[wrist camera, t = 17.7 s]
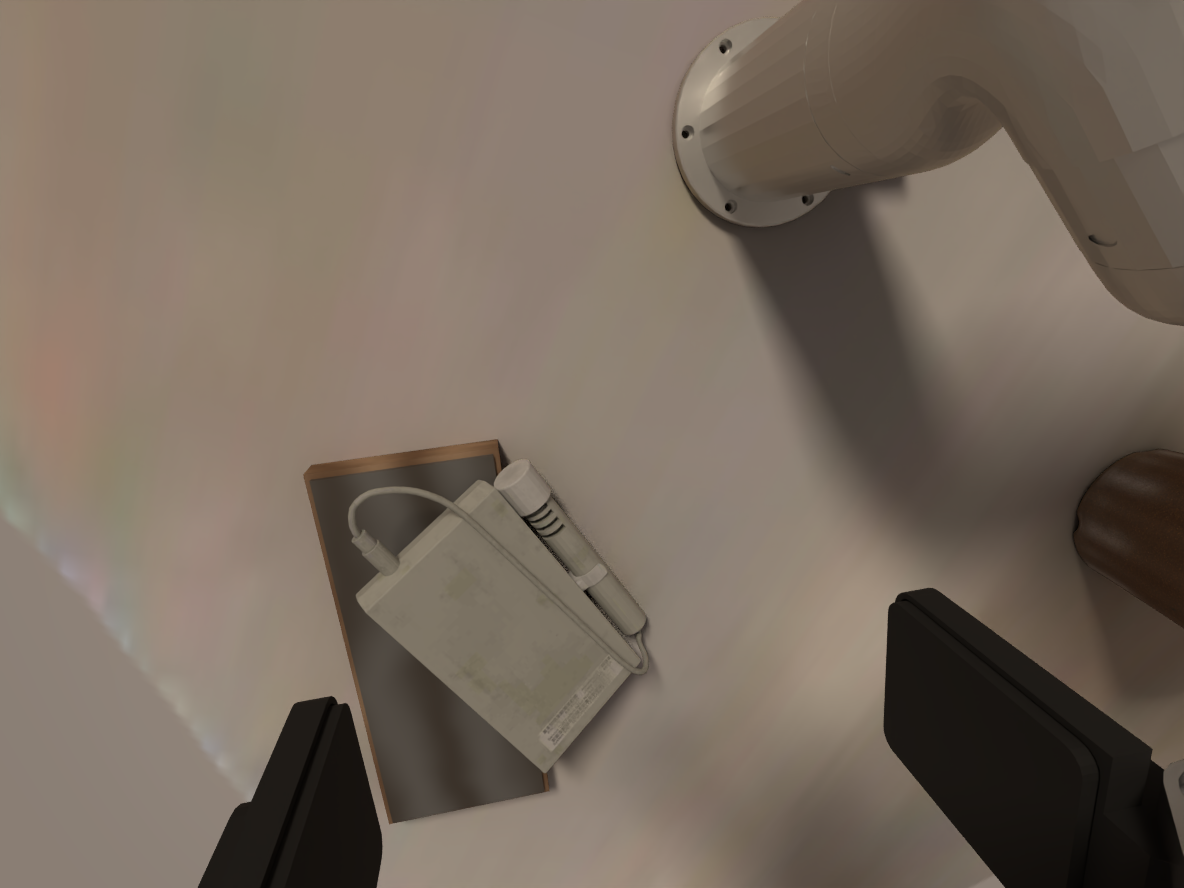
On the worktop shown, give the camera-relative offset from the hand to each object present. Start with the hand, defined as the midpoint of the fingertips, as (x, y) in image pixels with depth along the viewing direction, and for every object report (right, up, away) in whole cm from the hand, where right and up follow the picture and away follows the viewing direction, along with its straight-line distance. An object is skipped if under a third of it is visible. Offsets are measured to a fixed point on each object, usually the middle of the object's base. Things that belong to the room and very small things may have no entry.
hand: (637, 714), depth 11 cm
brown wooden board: (-13, -10, +39) cm, 42 cm away
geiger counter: (-11, -11, +31) cm, 35 cm away
